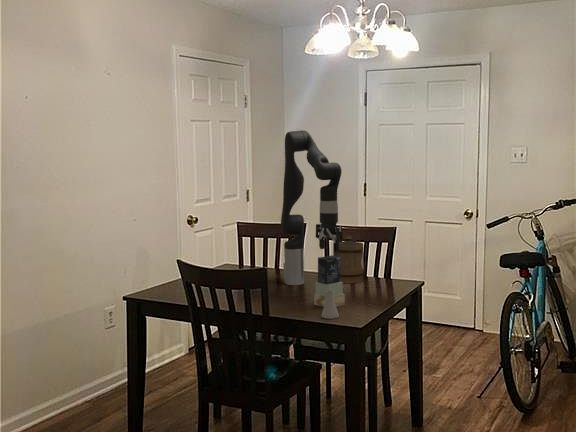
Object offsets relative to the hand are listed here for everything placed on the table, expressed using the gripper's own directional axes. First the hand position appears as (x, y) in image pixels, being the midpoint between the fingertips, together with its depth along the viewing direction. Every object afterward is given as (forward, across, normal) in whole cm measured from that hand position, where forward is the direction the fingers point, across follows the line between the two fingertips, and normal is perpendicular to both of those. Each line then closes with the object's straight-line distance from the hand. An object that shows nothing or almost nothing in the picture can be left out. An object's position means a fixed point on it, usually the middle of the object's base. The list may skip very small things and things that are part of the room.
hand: (329, 250), depth 269 cm
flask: (+23, +14, -12) cm, 30 cm away
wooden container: (+24, -29, +38) cm, 53 cm away
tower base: (+23, 0, 0) cm, 23 cm away
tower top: (+18, 0, 0) cm, 18 cm away
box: (+14, 0, 0) cm, 14 cm away
